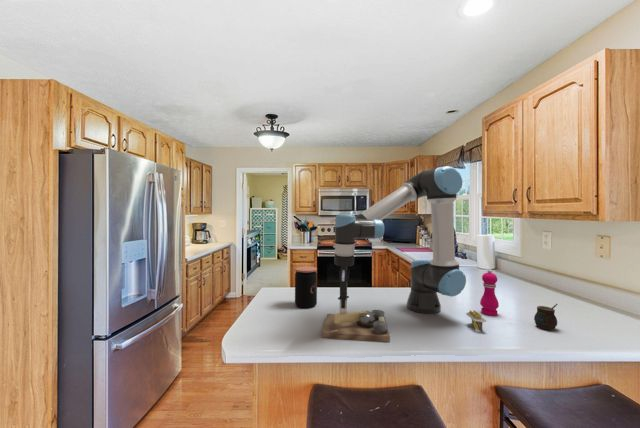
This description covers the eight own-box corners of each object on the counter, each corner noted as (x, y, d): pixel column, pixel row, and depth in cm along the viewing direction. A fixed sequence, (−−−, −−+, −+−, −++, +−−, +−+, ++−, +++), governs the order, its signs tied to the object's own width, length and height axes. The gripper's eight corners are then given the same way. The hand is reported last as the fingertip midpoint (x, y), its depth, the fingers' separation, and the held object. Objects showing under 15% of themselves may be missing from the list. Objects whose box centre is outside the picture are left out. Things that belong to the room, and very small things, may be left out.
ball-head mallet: (369, 319, 115) (369, 307, 115) (378, 326, 108) (378, 313, 108) (331, 323, 110) (331, 311, 110) (337, 331, 104) (337, 318, 104)
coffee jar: (314, 309, 133) (314, 271, 133) (292, 308, 135) (292, 270, 135) (318, 302, 143) (319, 266, 143) (298, 301, 145) (298, 265, 145)
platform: (470, 338, 105) (470, 320, 105) (449, 319, 123) (450, 304, 123) (503, 339, 104) (503, 321, 104) (478, 320, 122) (478, 305, 122)
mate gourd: (529, 324, 117) (529, 299, 117) (548, 324, 117) (548, 300, 117) (542, 331, 110) (543, 305, 110) (562, 332, 110) (563, 306, 110)
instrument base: (384, 321, 119) (384, 309, 119) (389, 342, 100) (389, 327, 100) (327, 318, 122) (327, 306, 122) (321, 337, 103) (321, 323, 103)
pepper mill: (478, 313, 129) (478, 269, 129) (482, 309, 135) (482, 267, 134) (496, 317, 124) (497, 271, 124) (500, 313, 130) (500, 269, 130)
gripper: (335, 251, 116) (334, 309, 117) (333, 257, 103) (331, 321, 104) (354, 252, 115) (353, 310, 116) (353, 258, 102) (352, 323, 103)
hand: (343, 315), depth 110 cm, fingers closed
